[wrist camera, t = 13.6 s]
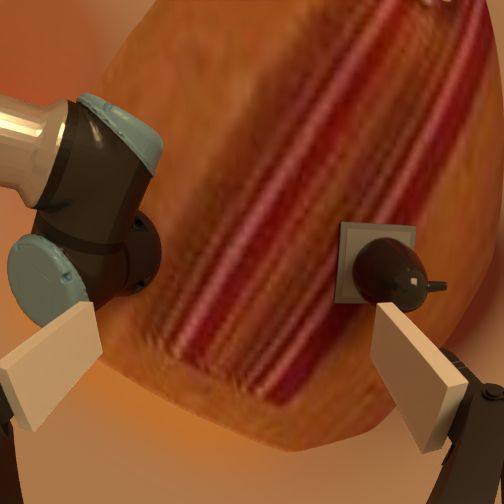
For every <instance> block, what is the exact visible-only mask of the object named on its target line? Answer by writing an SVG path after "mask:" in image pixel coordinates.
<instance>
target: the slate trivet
mask: <svg viewBox="0 0 504 504" xmlns="http://www.w3.org/2000/svg"><path fill="white" fill-rule="evenodd" d="M381 237H391V238H395V239H398V240H400V241H402V242H403V243H405V244H406V245H407V246H408V247H410V248H411V249H412V250H413V251H414V248H415V238H416V226H408V225H393V224H377V223H359V222H341V223H340V239H339V253H338V265H337V277H336V288H335V298H334V303H368V302H367V301H365V300H364V299H363V298H362V297H361V296H360V295H359V293H358V292H357V290H356V289H355V287H354V284H353V280H352V267H353V263H354V260H355V258H356V256H357V254H358V253H359V251H360V250H361V249H362V248H363V247H364V246H365V245H366V244H367V243H369V242H370V241H372V240H374V239H377V238H381Z"/></svg>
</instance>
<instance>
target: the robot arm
mask: <svg viewBox="0 0 504 504" xmlns="http://www.w3.org/2000/svg"><path fill="white" fill-rule="evenodd" d="M162 151H163V141H162V138H161V137H160V135H159V134H158V133H157V132H156V131H155V130H154V129H152V128H151V127H149V126H148V125H147V124H145V123H144V122H142V121H141V120H139V119H137V118H136V117H134V116H133V115H131V114H129V113H128V112H126V111H124V110H122V109H121V108H119V107H117V106H115V105H112V104H111V103H109V102H107V101H105V100H104V99H102V98H100V97H98V96H95V95H93V94H90V93H83V94H82V95H81V96H80V97H78V98H77V100H76V103H74V102H72V101H69V100H66V99H63V98H62V99H59V100H57V101H55V102H53V103H51V104H49V105H47V106H45V107H40V106H37V105H34V104H31V103H28V102H25V101H22V100H18V99H15V98H12V97H9V96H5V95H2V94H0V186H2V187H6V188H11V189H15V190H16V191H17V192H18V193H19V195H20V197H21V198H22V200H23V202H24V204H25V205H26V207H28V208H31V209H36V210H37V213H36V217H35V220H34V224H33V228H32V232H31V234H28V235H24V236H22V237H21V238H20V239H19V241H17V242H16V243H15V244H14V245H13V246H12V248H11V250H10V252H9V256H8V261H7V274H8V280H9V284H10V287H11V290H12V293H13V295H14V296H15V298H16V300H17V303H18V304H19V306H20V308H21V309H22V310H23V312H24V313H25V314H26V315H27V316H28V317H29V318H30V319H31V320H32V321H33V322H34V323H36V324H37V325H38V326H40V327H42V329H41V330H39V331H38V332H37V333H35V334H34V335H33V336H31V337H30V338H29V339H27V340H26V341H24V342H23V343H22V344H21V345H19V346H18V347H17V348H15V349H14V350H13V351H11V352H10V353H9V354H7V355H6V356H5V357H3V358H2V359H1V360H0V504H24V503H23V498H22V493H21V488H20V482H19V476H18V469H17V462H16V455H15V446H14V434H13V427H12V424H11V422H10V419H11V418H12V417H13V416H15V418H16V420H17V422H18V424H19V426H20V427H21V428H23V429H26V430H28V431H30V432H33V433H34V432H35V431H36V430H37V428H38V427H39V426H40V425H41V424H42V423H43V421H44V420H45V419H46V418H47V417H48V415H49V414H50V413H51V412H52V411H53V409H54V408H55V407H56V406H57V405H58V404H59V402H60V401H61V400H62V399H63V398H64V396H65V395H66V394H67V393H68V392H69V391H70V389H71V388H72V387H73V386H74V385H75V384H76V382H77V381H78V380H79V379H80V378H81V377H82V376H83V374H84V373H85V372H86V371H87V370H88V369H89V368H90V366H91V365H92V364H93V363H94V362H95V361H96V360H97V359H98V357H99V356H100V355H101V354H102V353H103V351H102V346H101V342H100V337H99V332H98V328H97V322H96V317H95V311H97V310H98V309H99V308H100V307H102V306H103V305H104V304H106V303H107V302H108V301H110V300H111V299H112V298H113V297H120V296H129V295H132V294H135V293H137V292H139V291H141V290H142V289H143V288H145V287H146V286H147V285H148V284H149V283H150V282H151V281H152V280H153V279H154V277H155V276H156V274H157V272H158V269H159V267H160V263H161V255H162V251H161V243H160V238H159V235H158V233H157V230H156V228H155V227H154V225H153V223H152V222H151V221H150V220H149V218H148V217H147V216H146V215H145V214H143V213H142V212H141V211H139V210H138V208H139V206H140V203H141V201H142V198H143V196H144V194H145V191H146V189H147V187H148V184H149V182H150V180H151V178H154V175H155V168H156V166H157V164H158V161H159V159H160V156H161V154H162ZM370 359H371V360H372V362H373V364H374V366H375V367H376V369H377V371H378V373H379V374H380V376H381V378H382V380H383V382H384V383H385V385H386V387H387V389H388V391H389V393H390V394H391V396H392V398H393V400H394V402H395V404H396V405H397V407H398V409H399V411H400V413H401V415H402V417H403V418H404V420H405V422H406V424H407V426H408V428H409V430H410V432H411V434H412V435H413V437H414V439H415V441H416V443H417V445H418V447H419V449H420V451H421V453H422V454H423V453H427V452H431V451H435V450H439V449H442V446H443V444H444V442H445V440H446V438H447V436H448V437H449V439H450V440H451V442H452V445H451V447H450V449H449V451H448V453H447V455H446V457H445V459H444V461H443V463H442V465H443V467H442V469H441V472H440V474H439V476H438V479H437V481H436V483H435V486H434V488H433V490H432V492H431V494H430V497H429V499H428V501H427V503H426V504H494V502H495V498H496V494H497V490H498V486H499V481H500V478H501V497H502V504H504V388H503V387H502V386H499V385H496V384H491V383H486V384H482V383H481V382H480V380H479V379H478V378H477V377H476V376H475V375H474V374H473V373H472V372H471V371H470V370H469V369H468V368H467V367H465V365H464V364H463V363H462V362H460V360H459V359H458V358H457V357H456V356H455V355H454V354H453V353H452V352H450V351H448V350H446V349H444V348H439V349H438V348H437V347H436V346H435V345H434V344H433V343H432V342H431V341H430V340H429V339H428V338H427V337H426V336H425V335H424V334H423V333H422V332H421V331H420V330H419V329H418V328H417V327H416V326H415V325H414V324H413V323H412V322H411V321H410V320H409V319H408V318H407V317H406V316H405V315H404V314H403V313H402V312H401V311H400V310H399V309H398V308H397V307H396V306H395V305H394V304H393V303H392V302H390V303H377V306H376V315H375V323H374V330H373V337H372V344H371V351H370Z"/></svg>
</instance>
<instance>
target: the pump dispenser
mask: <svg viewBox="0 0 504 504" xmlns="http://www.w3.org/2000/svg"><path fill="white" fill-rule="evenodd" d="M352 280H353V284H354V287H355V289H356V290H357V292H358V293H359V295H360V296H361V297H362V298H363V299H364V300H365V301H367V302H368V303H370V304H371V305H373V306H375V307H376V306H377V303H390V302H392V303H393V304H394V305H395V306H396V307H397V308H398V309H399V310H400V311H401V312H402V313H408V312H412V311H414V310H416V309H417V308H419V307H420V306H421V305H422V304H423V303H424V301H425V299H426V296H427V293H428V292H436V291H444V290H447V283H446V282H439V281H428V278H427V273H426V270H425V268H424V266H423V264H422V262H421V260H420V259H419V257H418V256H417V255H416V254H415V252H414V251H413V250H412V249H411V248H410V247H408V246H407V245H406V244H405V243H403V242H402V241H400V240H398V239H395V238H391V237H381V238H377V239H374V240H372V241H370V242H369V243H367V244H366V245H365V246H364V247H363V248H362V249H361V250H360V251H359V253H358V254H357V256H356V258H355V260H354V263H353V267H352Z"/></svg>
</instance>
